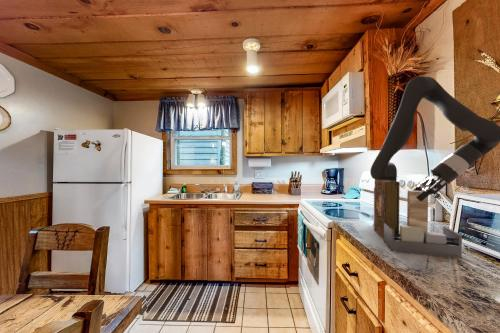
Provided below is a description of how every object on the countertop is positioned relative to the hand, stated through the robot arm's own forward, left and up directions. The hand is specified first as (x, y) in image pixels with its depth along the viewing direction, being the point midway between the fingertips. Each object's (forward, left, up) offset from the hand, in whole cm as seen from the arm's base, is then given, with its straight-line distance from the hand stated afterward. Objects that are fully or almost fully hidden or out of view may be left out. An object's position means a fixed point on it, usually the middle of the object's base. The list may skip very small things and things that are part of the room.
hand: (414, 197), depth 95 cm
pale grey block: (+5, +5, -19) cm, 21 cm away
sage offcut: (+5, -2, -19) cm, 20 cm away
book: (-14, -7, -20) cm, 25 cm away
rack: (+2, +1, -19) cm, 19 cm away
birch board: (0, +1, -19) cm, 19 cm away
